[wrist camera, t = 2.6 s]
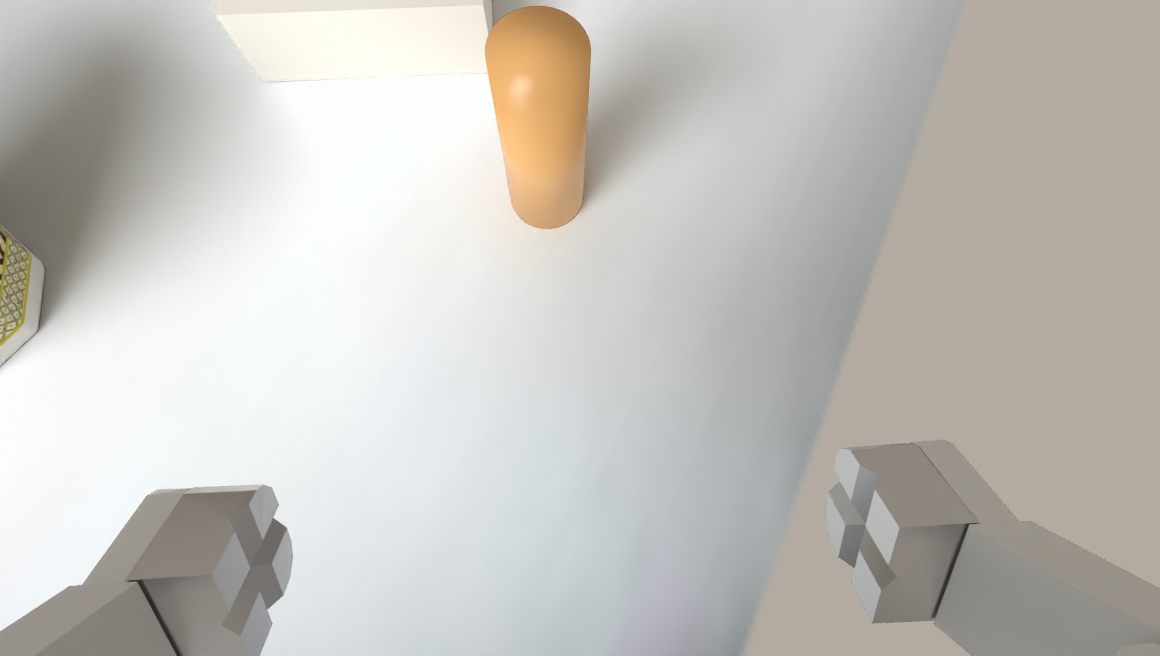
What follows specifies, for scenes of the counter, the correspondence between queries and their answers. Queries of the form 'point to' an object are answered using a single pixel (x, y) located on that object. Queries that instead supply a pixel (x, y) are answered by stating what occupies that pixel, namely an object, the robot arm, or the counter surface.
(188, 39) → the counter surface
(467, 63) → the housing
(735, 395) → the counter surface
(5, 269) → the ceramic cup
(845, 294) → the counter surface
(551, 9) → the pin
